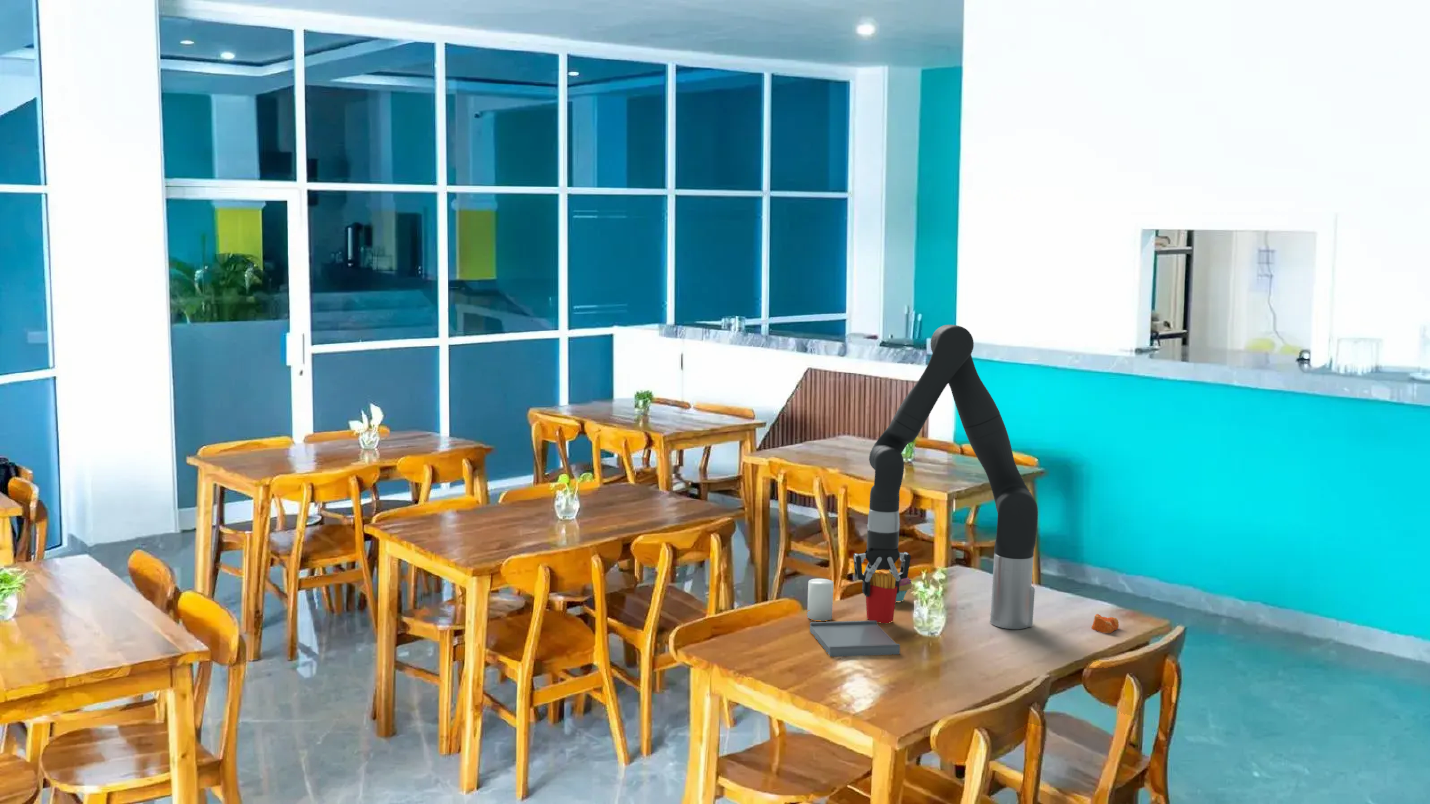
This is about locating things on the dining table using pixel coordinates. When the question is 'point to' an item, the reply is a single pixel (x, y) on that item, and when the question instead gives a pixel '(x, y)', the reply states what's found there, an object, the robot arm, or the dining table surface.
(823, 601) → the white rounded cylinder
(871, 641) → the slate board
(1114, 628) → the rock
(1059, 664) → the dining table surface
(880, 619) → the french fries
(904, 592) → the cupcake
